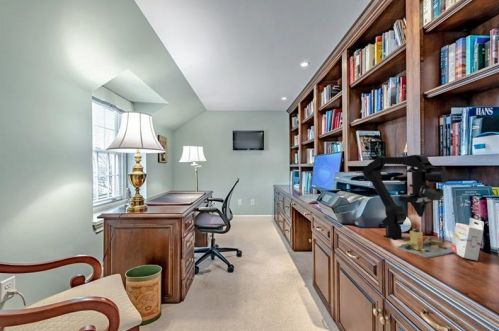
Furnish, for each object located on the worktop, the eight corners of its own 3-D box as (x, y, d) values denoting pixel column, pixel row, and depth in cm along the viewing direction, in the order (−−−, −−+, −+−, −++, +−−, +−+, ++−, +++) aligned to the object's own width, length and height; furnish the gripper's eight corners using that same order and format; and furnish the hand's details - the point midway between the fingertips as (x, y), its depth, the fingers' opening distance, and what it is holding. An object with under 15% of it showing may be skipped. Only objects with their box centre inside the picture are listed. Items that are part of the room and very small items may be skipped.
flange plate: (397, 248, 109) (397, 246, 109) (429, 243, 114) (429, 241, 114) (426, 258, 96) (426, 256, 96) (460, 251, 102) (460, 250, 102)
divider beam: (400, 247, 108) (400, 241, 108) (431, 242, 113) (431, 236, 113) (417, 252, 100) (417, 246, 100) (449, 247, 106) (448, 241, 106)
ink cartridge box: (449, 250, 101) (456, 214, 101) (463, 253, 100) (470, 217, 100) (463, 257, 93) (470, 219, 92) (478, 261, 92) (486, 222, 91)
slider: (405, 245, 108) (404, 227, 108) (410, 245, 109) (409, 226, 109) (421, 251, 101) (421, 231, 101) (427, 250, 102) (426, 230, 102)
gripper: (421, 184, 103) (422, 222, 102) (453, 182, 108) (454, 218, 108) (397, 182, 113) (398, 217, 113) (427, 181, 119) (428, 213, 119)
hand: (420, 216), depth 113 cm, fingers closed
